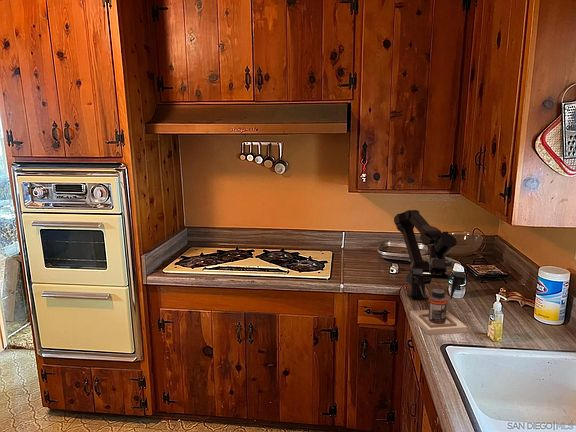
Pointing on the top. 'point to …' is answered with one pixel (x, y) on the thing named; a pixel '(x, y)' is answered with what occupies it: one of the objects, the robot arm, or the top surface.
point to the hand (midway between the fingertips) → (437, 297)
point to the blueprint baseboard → (433, 329)
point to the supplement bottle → (437, 307)
